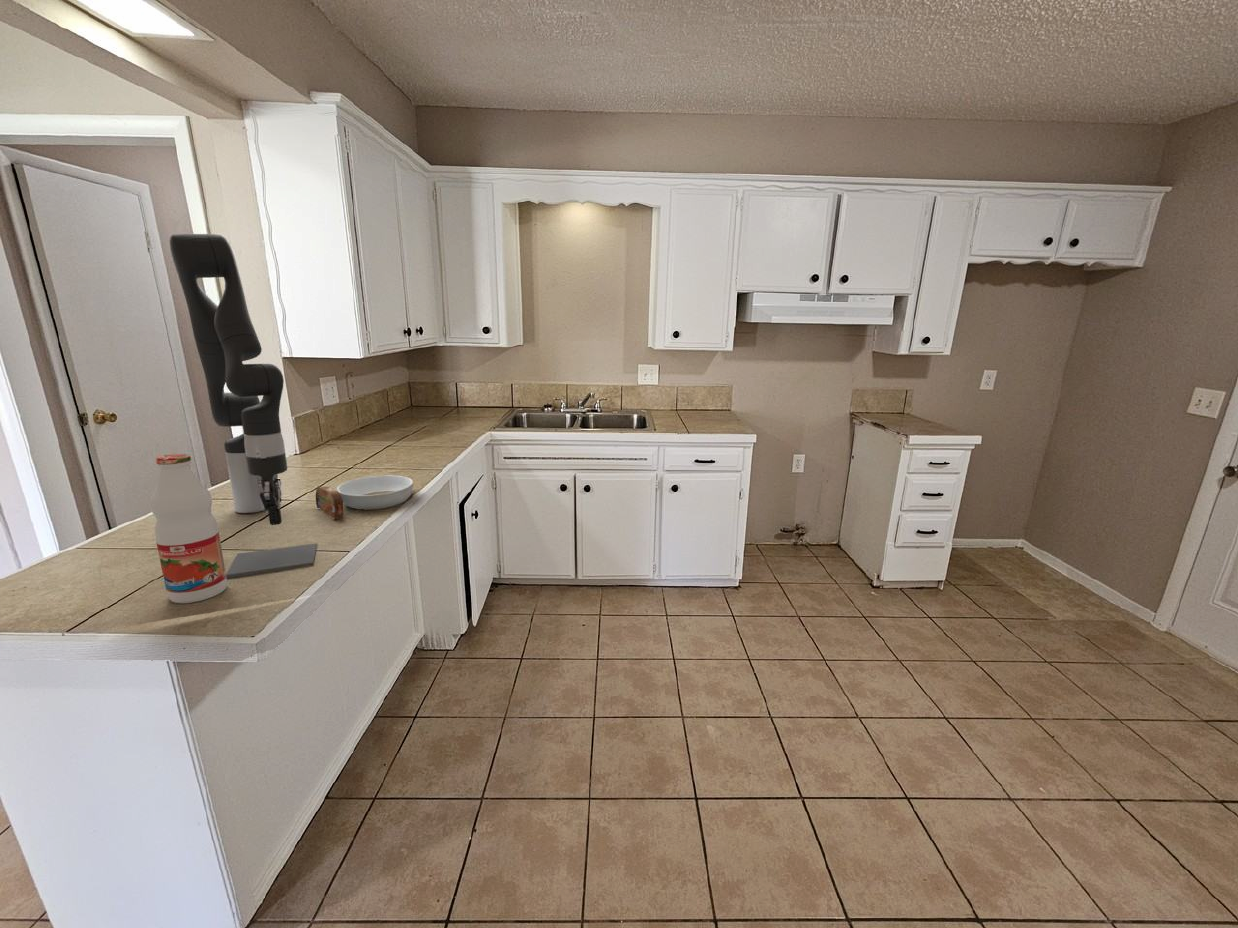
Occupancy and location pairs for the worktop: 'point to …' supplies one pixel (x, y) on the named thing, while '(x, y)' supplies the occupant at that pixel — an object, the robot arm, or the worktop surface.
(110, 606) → the worktop surface
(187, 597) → the fruit juice
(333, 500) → the tin
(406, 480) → the serving bowl
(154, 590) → the worktop surface
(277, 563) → the mat
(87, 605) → the worktop surface
